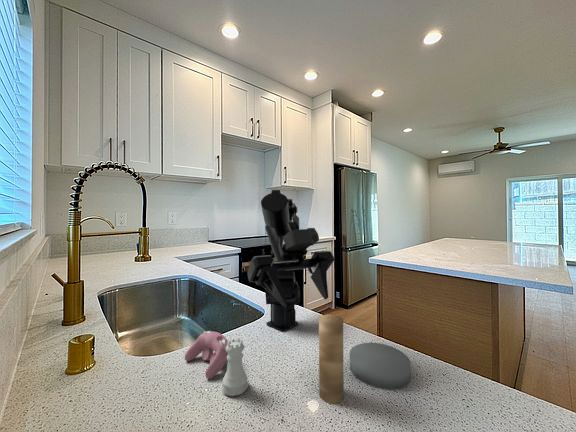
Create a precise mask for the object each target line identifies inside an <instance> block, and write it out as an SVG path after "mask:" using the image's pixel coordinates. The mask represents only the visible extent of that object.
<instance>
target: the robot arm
mask: <svg viewBox="0 0 576 432" xmlns="http://www.w3.org/2000/svg"><path fill="white" fill-rule="evenodd" d="M260 206H261V211H262V215H263V220H264V224H265V227H264V228H265V229H264V230H265V233H266V235H267V238H268V240H269V243H270V246H271V251H270V254H271V255H270V254H269V255H255V256H253V257H252V259H251V260H250V263H249V266H248V269H247V271H246V273H247V274H246V275H247V279H248V282H249V283H251V284H252V283H253V284H254V283H255V284H256V286H261V287H262V288H264V289H265V290H264V291H265V293H264V295H265V304H266V305H270V320H269V321H267V322H266V323H265V324H266V325H267V326H269V327H271V328H273V329H275V330H278V331H281V332H285V331H288V330H289V329H291V328H293V327H295V326H297V325H299V321H297V320H296V319H297V318H296V309H295V308H296V307H295V306H297V305H298V304H300V303H301V287H300V286H299V284H298V281H296V276H295V275H296V274H295V271H296V270H304V269H307V270H308V272H309V273H310V274H311V275H310V278H311V280H312V282H313V284H314V286H315V287H316V288H317V290H318V292H319V294H320V295H321V297H322V298H323V299H324V300H328V298H329V289H328V281H327V280H328V279H327V271H328V270H329V269H330V268H331V266H332V265H333V263H334V262H335V260H336V259H335V256H334V255H333V253H332V251H330V250H321V251H320V250H319V251H314V253H313V254H312V255H311V257H310V258H304V256H306V255H307V254H308V250H307V249H308V248H309V247H311V246H314V245H315V244H317V243H318V242H319V240H320V237H319V233H318V231H317V230H316V229H315V227H308V228H302V229H301V228H300V217H299V216H298V215H297V214H298V207H297V205H296V203H294V201H293V199H292V198H288V196H287V195H285V194H283V193H281V189H271V192H270V193H268V194H266V195H264V196H263V198H262V199H261V200H260ZM273 256H274V258H275V261H274V258H273ZM294 270H295V271H294Z"/></svg>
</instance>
